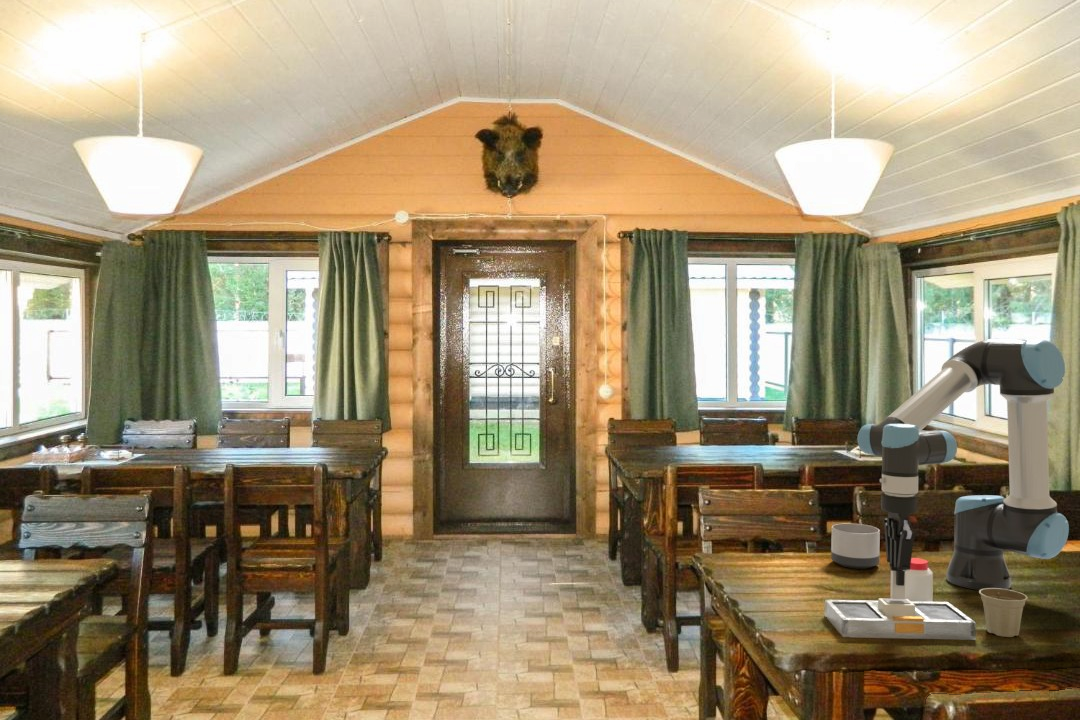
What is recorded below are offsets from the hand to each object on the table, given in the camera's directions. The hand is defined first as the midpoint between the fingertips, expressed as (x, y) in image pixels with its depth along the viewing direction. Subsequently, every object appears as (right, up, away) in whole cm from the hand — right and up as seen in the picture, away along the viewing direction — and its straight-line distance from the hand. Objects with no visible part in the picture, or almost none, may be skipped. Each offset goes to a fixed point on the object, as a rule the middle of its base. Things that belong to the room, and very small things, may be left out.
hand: (897, 598), depth 190 cm
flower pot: (+22, -7, -3) cm, 23 cm away
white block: (0, -6, 0) cm, 6 cm away
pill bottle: (+11, -6, +16) cm, 20 cm away
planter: (+10, -5, +52) cm, 53 cm away
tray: (0, -7, 0) cm, 7 cm away
